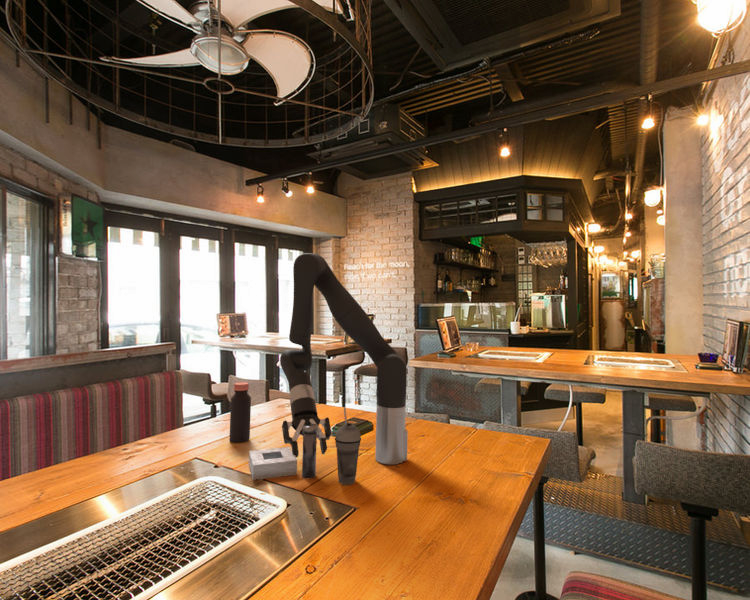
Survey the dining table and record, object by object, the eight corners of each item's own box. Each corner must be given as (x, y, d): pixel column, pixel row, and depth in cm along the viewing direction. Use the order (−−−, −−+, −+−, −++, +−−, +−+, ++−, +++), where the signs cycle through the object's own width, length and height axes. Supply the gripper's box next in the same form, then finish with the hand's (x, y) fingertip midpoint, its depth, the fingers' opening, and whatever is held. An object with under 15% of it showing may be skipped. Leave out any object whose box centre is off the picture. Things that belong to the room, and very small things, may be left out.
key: (314, 471, 117) (315, 423, 117) (318, 477, 113) (319, 427, 113) (299, 473, 115) (300, 424, 115) (302, 480, 111) (304, 428, 111)
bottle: (253, 439, 144) (255, 383, 144) (238, 444, 138) (240, 386, 139) (241, 435, 147) (242, 381, 148) (225, 440, 142) (227, 383, 142)
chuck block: (288, 459, 126) (289, 446, 126) (296, 474, 114) (297, 460, 115) (248, 464, 121) (249, 450, 121) (252, 480, 110) (253, 465, 110)
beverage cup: (356, 488, 106) (358, 412, 107) (330, 485, 108) (332, 410, 108) (362, 477, 114) (364, 406, 114) (338, 474, 115) (339, 404, 116)
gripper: (280, 397, 119) (286, 450, 107) (328, 394, 124) (338, 445, 113) (277, 411, 123) (282, 463, 112) (323, 408, 129) (332, 457, 118)
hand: (310, 454), depth 113 cm, fingers open, 7 cm apart
